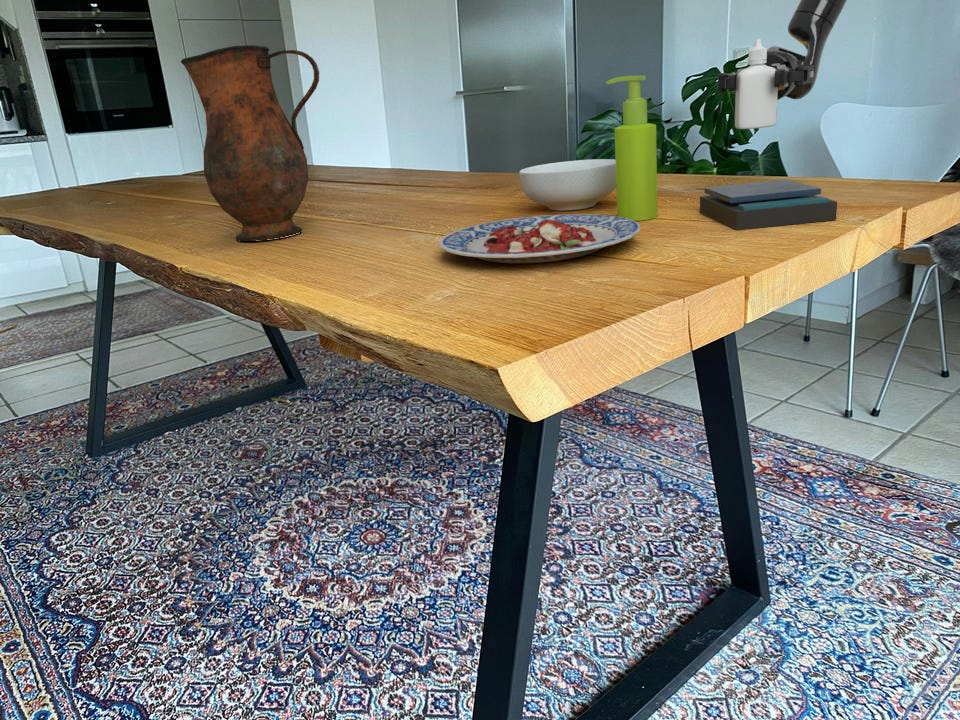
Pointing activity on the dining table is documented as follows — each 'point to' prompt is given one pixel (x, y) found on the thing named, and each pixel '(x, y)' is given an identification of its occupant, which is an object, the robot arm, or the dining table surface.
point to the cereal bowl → (569, 183)
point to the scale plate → (762, 191)
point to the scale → (769, 211)
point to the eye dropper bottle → (756, 92)
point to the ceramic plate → (539, 237)
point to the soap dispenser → (635, 156)
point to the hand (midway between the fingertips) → (753, 81)
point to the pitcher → (251, 140)
